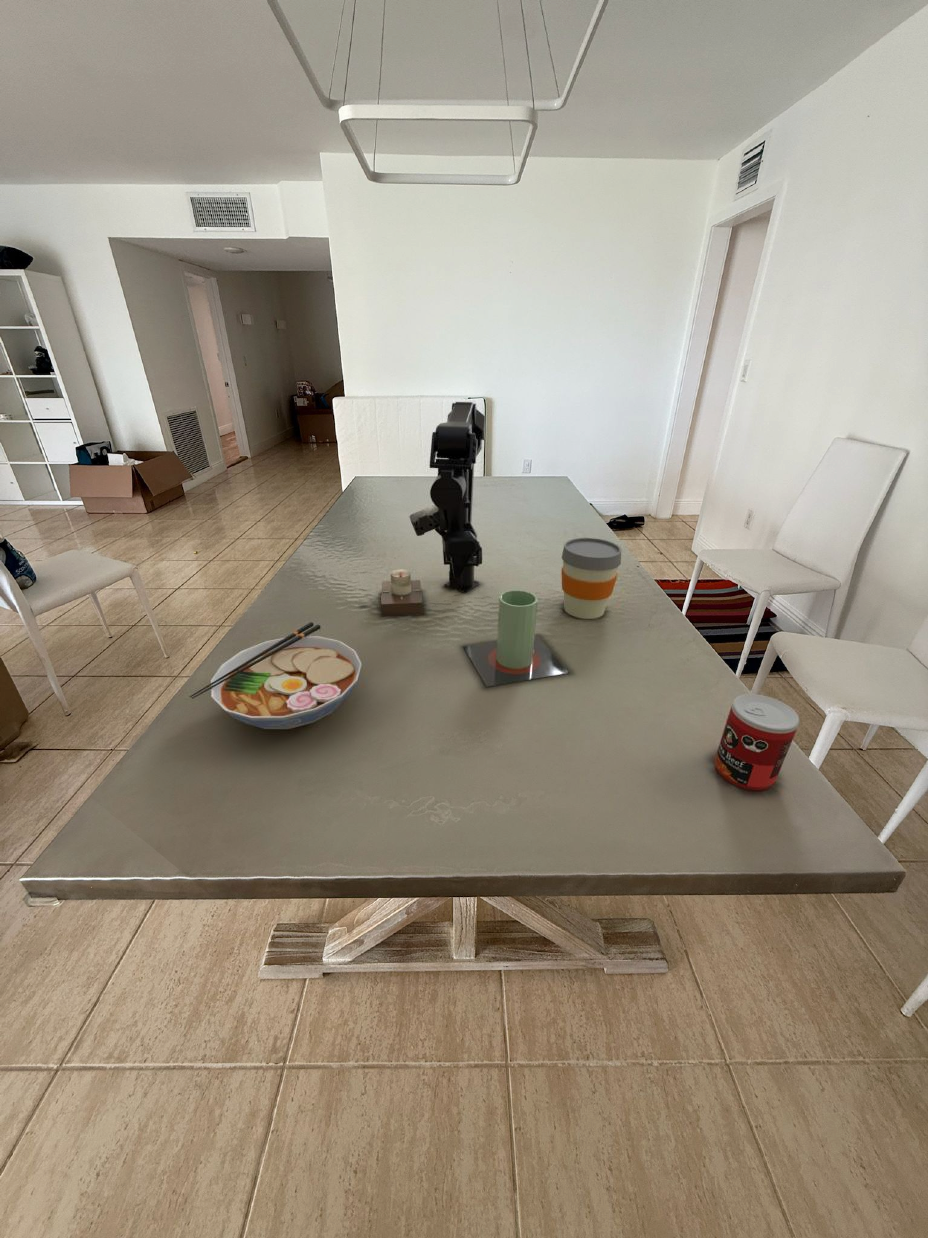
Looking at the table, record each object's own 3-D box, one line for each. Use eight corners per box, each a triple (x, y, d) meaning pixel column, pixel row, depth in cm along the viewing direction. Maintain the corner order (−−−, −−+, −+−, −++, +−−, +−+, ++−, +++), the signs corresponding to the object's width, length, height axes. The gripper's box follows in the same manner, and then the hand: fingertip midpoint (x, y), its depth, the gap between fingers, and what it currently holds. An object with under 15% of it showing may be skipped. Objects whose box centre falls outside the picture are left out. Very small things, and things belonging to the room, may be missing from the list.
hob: (463, 647, 103) (463, 646, 103) (537, 636, 107) (537, 635, 107) (486, 687, 91) (486, 686, 91) (568, 673, 96) (568, 672, 96)
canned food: (703, 754, 77) (722, 694, 72) (754, 751, 78) (776, 692, 73) (731, 794, 71) (753, 731, 65) (786, 790, 71) (813, 728, 66)
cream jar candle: (391, 587, 120) (390, 568, 118) (410, 586, 121) (410, 567, 118) (391, 595, 116) (390, 576, 114) (411, 595, 117) (410, 575, 114)
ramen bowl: (282, 785, 71) (272, 739, 67) (182, 726, 81) (168, 683, 78) (397, 693, 90) (394, 653, 86) (303, 654, 100) (297, 617, 96)
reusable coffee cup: (614, 602, 122) (624, 541, 114) (609, 626, 111) (620, 561, 104) (561, 594, 125) (567, 534, 118) (551, 617, 115) (558, 553, 108)
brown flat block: (382, 592, 125) (381, 580, 123) (420, 591, 126) (419, 579, 124) (381, 616, 114) (380, 603, 113) (422, 614, 115) (422, 601, 114)
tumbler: (500, 647, 103) (503, 587, 97) (534, 652, 101) (540, 592, 95) (492, 665, 97) (495, 603, 91) (528, 671, 96) (534, 608, 89)
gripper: (407, 483, 107) (410, 554, 114) (417, 510, 91) (419, 591, 98) (460, 481, 109) (459, 551, 116) (479, 508, 93) (477, 587, 100)
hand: (453, 569), depth 108 cm, fingers open, 9 cm apart
